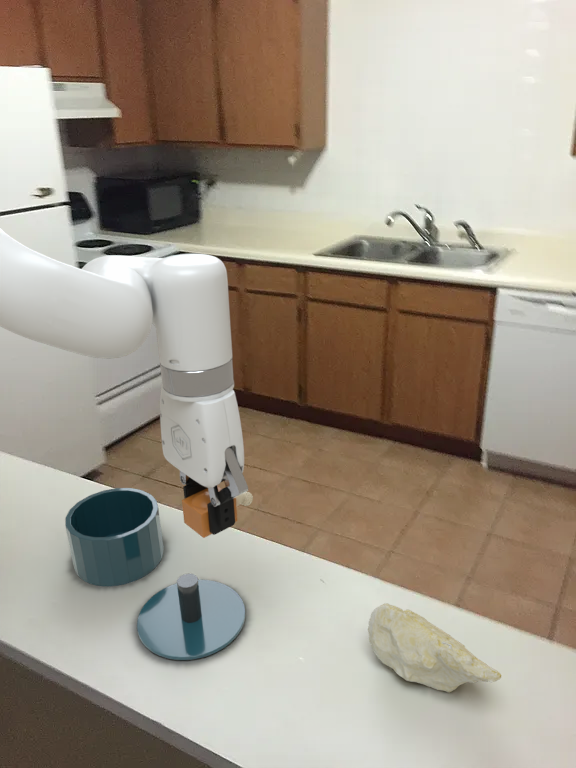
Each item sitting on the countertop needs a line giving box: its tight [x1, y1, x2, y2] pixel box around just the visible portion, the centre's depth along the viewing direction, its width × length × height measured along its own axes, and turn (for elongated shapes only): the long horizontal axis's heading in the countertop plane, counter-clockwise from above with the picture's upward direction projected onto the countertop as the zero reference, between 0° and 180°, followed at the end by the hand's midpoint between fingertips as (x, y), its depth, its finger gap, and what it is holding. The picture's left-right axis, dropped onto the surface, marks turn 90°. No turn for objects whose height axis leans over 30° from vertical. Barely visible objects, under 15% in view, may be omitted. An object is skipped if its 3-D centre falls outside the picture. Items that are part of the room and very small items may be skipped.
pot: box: [64, 487, 165, 587], centre depth 103 cm, size 14×14×8 cm
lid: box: [136, 573, 246, 661], centre depth 90 cm, size 15×15×7 cm
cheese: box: [367, 602, 502, 693], centre depth 81 cm, size 15×7×15 cm
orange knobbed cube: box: [181, 485, 254, 539], centre depth 78 cm, size 8×4×4 cm, turn 131°
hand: (210, 518), depth 77 cm, fingers closed on orange knobbed cube, 4 cm apart
